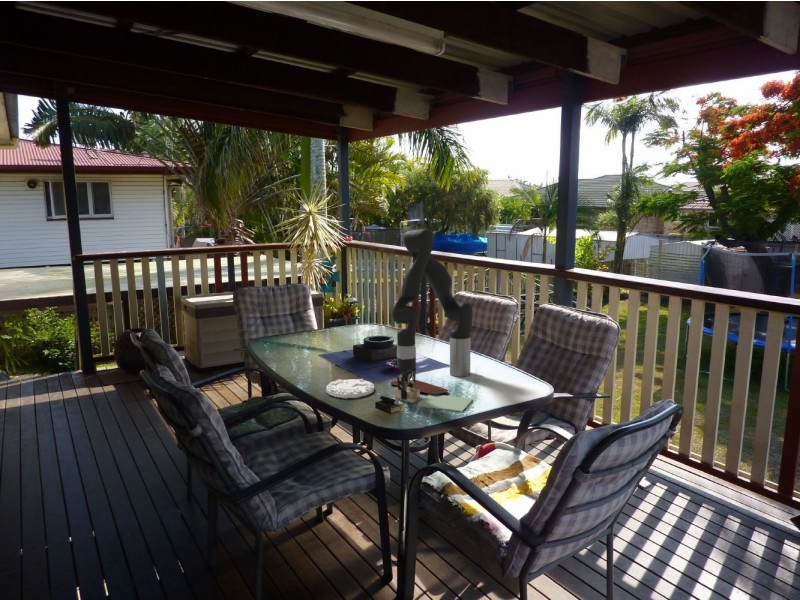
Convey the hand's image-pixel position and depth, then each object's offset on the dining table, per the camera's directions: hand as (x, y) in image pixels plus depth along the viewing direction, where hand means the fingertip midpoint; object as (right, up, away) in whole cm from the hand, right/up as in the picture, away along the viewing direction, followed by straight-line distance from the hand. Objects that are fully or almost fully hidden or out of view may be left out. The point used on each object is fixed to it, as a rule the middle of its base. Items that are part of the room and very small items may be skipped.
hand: (407, 396), depth 232 cm
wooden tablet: (+5, +1, +12) cm, 13 cm away
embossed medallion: (-24, 0, +11) cm, 26 cm away
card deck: (0, -1, 0) cm, 1 cm away
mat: (+15, -2, -6) cm, 16 cm away
